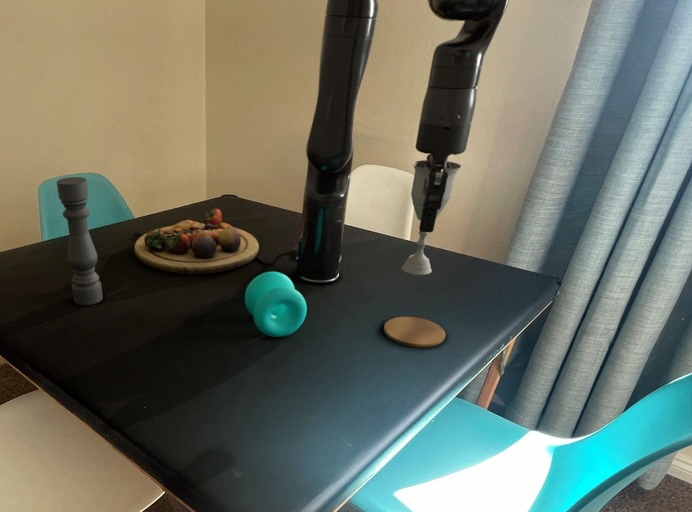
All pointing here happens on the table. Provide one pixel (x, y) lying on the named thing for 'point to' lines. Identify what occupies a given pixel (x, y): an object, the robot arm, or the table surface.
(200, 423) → the table surface
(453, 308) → the table surface
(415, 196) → the chalice
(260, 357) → the table surface
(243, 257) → the wooden plate
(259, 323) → the turquoise spool
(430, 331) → the coaster
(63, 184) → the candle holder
